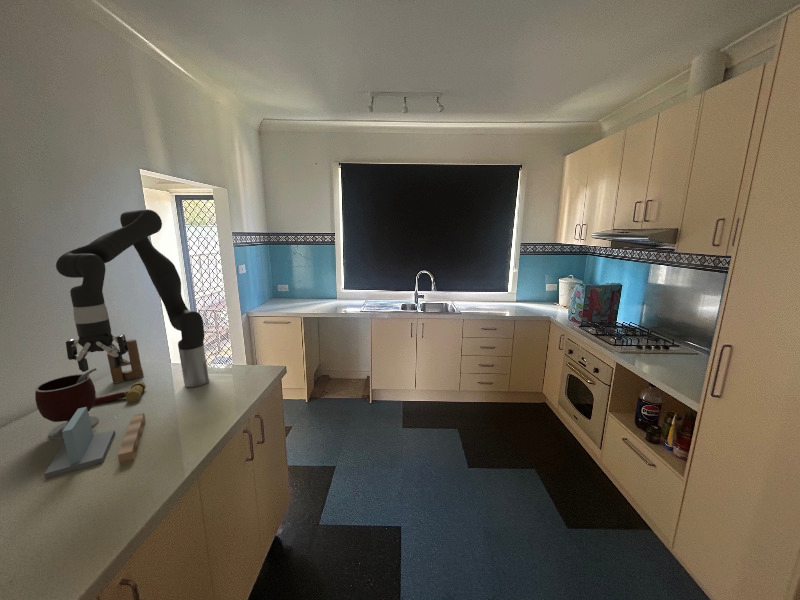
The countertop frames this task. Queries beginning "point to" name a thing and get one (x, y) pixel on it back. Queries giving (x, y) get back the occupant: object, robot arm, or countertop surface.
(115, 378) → the wooden block
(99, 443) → the stand
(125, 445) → the light wood bar
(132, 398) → the gavel
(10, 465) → the countertop surface
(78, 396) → the mate gourd
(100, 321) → the robot arm
